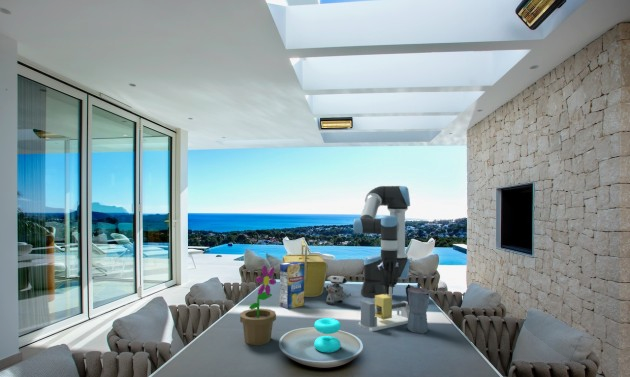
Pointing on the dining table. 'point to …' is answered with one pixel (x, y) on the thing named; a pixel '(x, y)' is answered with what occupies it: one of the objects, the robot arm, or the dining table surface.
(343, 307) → the dining table surface
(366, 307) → the linear slide rail
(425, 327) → the moka pot
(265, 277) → the flowerpot
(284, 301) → the beverage box
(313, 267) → the picnic basket
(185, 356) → the dining table surface
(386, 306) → the yellow block on rod
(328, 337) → the donuts
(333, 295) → the figurine
